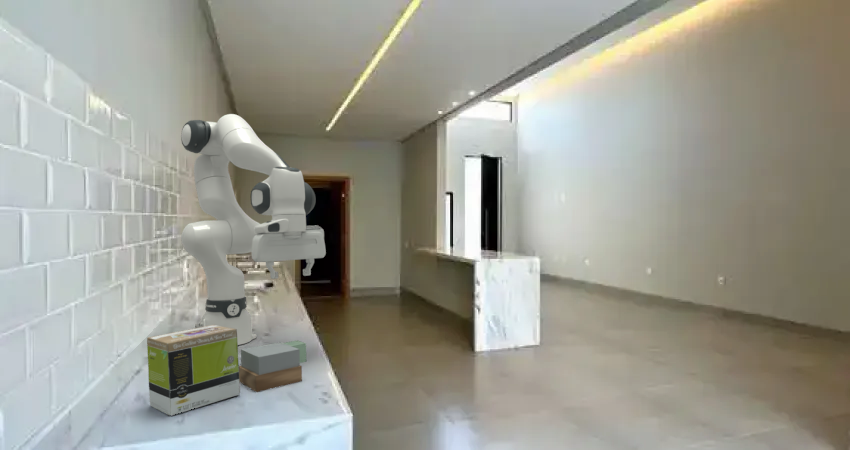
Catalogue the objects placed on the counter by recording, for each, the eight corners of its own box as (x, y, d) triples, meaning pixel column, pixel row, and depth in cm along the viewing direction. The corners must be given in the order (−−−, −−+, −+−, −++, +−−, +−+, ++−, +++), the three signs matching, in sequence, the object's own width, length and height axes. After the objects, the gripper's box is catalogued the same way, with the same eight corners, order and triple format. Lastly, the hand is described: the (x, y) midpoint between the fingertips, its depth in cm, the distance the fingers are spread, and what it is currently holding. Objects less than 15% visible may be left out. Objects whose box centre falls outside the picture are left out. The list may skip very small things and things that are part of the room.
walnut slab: (238, 382, 120) (237, 366, 120) (281, 373, 127) (281, 357, 127) (256, 394, 111) (256, 376, 111) (301, 383, 118) (301, 366, 118)
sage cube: (280, 361, 136) (280, 343, 136) (297, 358, 139) (297, 340, 139) (289, 365, 132) (288, 346, 132) (306, 361, 136) (306, 343, 136)
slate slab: (241, 366, 119) (240, 349, 119) (280, 358, 126) (280, 342, 126) (259, 375, 112) (258, 357, 112) (299, 366, 119) (299, 349, 119)
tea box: (217, 387, 115) (215, 323, 115) (240, 396, 109) (239, 328, 109) (147, 406, 104) (146, 335, 104) (169, 417, 97) (167, 341, 97)
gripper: (317, 225, 145) (319, 273, 145) (248, 227, 132) (249, 279, 131) (329, 224, 140) (330, 274, 140) (257, 226, 127) (259, 281, 127)
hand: (291, 277), depth 136 cm, fingers open, 8 cm apart
